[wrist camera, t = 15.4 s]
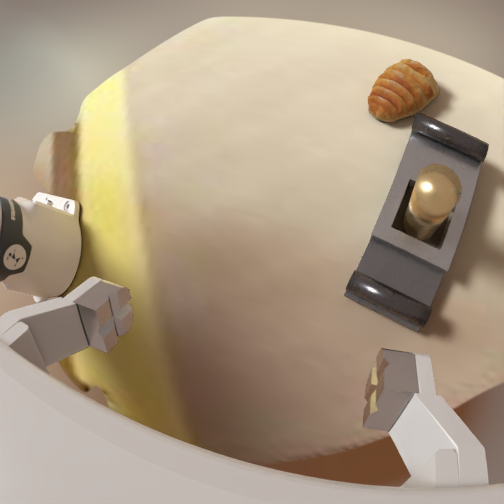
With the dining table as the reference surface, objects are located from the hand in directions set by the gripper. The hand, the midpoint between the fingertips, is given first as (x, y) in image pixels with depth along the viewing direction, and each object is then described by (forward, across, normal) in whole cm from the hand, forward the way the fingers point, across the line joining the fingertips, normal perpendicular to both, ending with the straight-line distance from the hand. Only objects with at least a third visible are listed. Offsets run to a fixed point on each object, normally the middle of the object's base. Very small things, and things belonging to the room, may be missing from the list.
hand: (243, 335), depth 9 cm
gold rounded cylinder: (+24, -11, +3) cm, 27 cm away
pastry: (+34, -8, -9) cm, 36 cm away
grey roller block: (+24, -11, +3) cm, 27 cm away
